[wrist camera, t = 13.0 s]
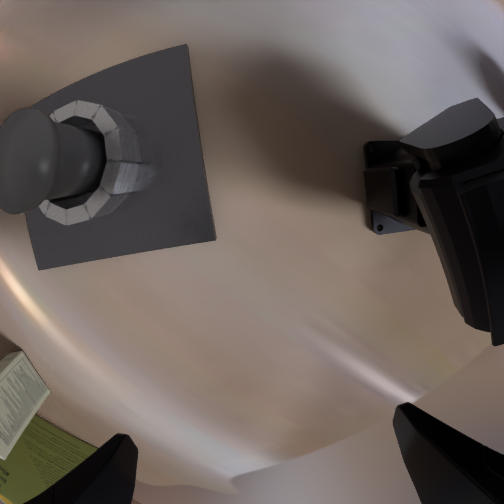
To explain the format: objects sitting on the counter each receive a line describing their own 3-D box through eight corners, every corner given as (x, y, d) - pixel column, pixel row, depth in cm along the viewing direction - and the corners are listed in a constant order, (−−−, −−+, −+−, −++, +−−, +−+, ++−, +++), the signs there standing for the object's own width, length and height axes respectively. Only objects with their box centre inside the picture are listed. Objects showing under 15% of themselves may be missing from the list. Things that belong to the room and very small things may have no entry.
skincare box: (7, 352, 22) (-49, 407, 10) (23, 348, 22) (-39, 410, 10) (35, 395, 24) (-11, 455, 12) (53, 394, 23) (5, 462, 12)
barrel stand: (188, 47, 16) (176, 24, 12) (216, 238, 19) (209, 251, 16) (21, 115, 16) (-5, 111, 13) (42, 268, 20) (17, 282, 16)
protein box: (15, 400, 25) (-35, 464, 10) (104, 450, 26) (68, 537, 11) (29, 436, 27) (-7, 494, 12) (108, 478, 28) (82, 549, 13)
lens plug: (118, 117, 16) (48, 90, 8) (127, 189, 17) (56, 199, 10) (61, 139, 16) (-14, 132, 9) (70, 205, 18) (-6, 223, 10)
